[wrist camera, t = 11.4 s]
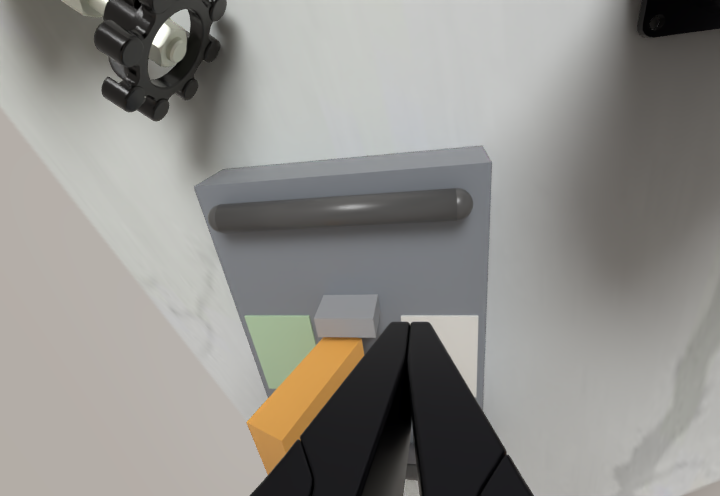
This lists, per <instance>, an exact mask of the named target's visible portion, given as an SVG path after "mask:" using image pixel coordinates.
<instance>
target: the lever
mask: <svg viewBox="0 0 720 496" xmlns="http://www.w3.org/2000/svg"><path fill="white" fill-rule="evenodd" d="M363 356H364V350H363V344H362V338H357V337H323V338H322V339H321V340H320V342H319V343H318V344H317V345H316V346H315V347H314V348H313V349H312V350H311V352H310V353H309V354H308V355H307V356H306V357H305V358H304V359H303V360H302V361H301V363H300V364H299V365H298V366H297V367H296V368H295V369H294V370H293V371H292V373H291V374H290V375H289V376H288V377H287V378H286V379H285V380H284V381H283V382H282V384H281V385H280V386H279V387H278V388H277V389H276V390H275V391H274V392H273V394H272V395H271V396H270V397H269V398H268V399H267V400H266V401H265V402H264V404H263V405H262V406H261V407H260V408H259V409H258V410H257V411H256V412H255V413H254V415H253V416H252V417H251V418H250V419H249V420H248V421H247V422H246V423H247V425H248V427H249V430H250V432H251V435H252V437H253V440H254V442H255V444H256V447H257V449H258V452H259V454H260V457H261V459H262V462H263V464H264V466H265V469H266V471H267V474H268V475H269V473H270V472H271V471H272V470H273V469H274V467H275V466H276V465H277V464H278V463H279V461H280V460H281V459H282V458H283V457H284V455H285V454H286V453H287V452H288V450H289V449H290V448H291V447H292V445H293V444H294V443H295V442H296V440H298V439H299V440H300V436H301V434H302V433H303V432H304V431H305V429H306V428H307V427H308V426H309V424H310V423H311V422H312V421H313V419H314V418H315V417H316V415H317V414H318V413H319V412H320V410H321V409H322V408H323V407H324V405H325V404H326V403H327V402H328V400H329V399H330V398H331V397H332V395H333V394H334V393H335V392H336V390H337V389H338V388H339V387H340V385H341V384H342V383H343V381H344V380H345V379H346V378H347V376H348V375H349V374H350V373H351V371H352V370H353V369H354V368H355V366H356V365H357V364H358V363H359V361H360V360H361V359H362V358H363ZM300 441H301V440H300Z"/></svg>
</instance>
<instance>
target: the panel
mask: <svg viewBox="0 0 720 496" xmlns="http://www.w3.org/2000/svg"><path fill="white" fill-rule="evenodd" d="M491 173H492V162H491V160H490V158H489V156H488V155H487V153H486V151H485V149H484V147H483V146H474V147H463V148H452V149H441V150H430V151H419V152H408V153H397V154H386V155H375V156H364V157H353V158H342V159H331V160H320V161H309V162H298V163H287V164H276V165H265V166H254V167H243V168H231V169H223V170H221V171H219V172H218V173H216V174H214V175H213V176H211V177H209V178H207V179H206V180H204V181H202V182H201V183H199V184H197V185H196V186H194V189H195V192H196V195H197V198H198V200H199V203H200V206H201V209H202V212H203V215H204V217H205V220H206V223H207V226H208V229H209V232H210V234H211V237H212V240H213V243H214V246H215V249H216V251H217V254H218V257H219V260H220V263H221V266H222V268H223V271H224V274H225V277H226V280H227V283H228V285H229V288H230V291H231V294H232V297H233V300H234V302H235V305H236V308H237V311H238V314H239V317H240V319H241V322H242V325H243V328H244V331H245V334H246V336H247V339H248V342H249V345H250V348H251V351H252V354H253V356H254V359H255V362H256V365H257V368H258V371H259V373H260V376H261V379H262V382H263V385H264V388H265V390H266V393H267V396H268V398H269V397H270V396H271V395H272V394H273V392H274V391H275V390H276V389H277V388H278V387H279V386H280V385H281V384H282V382H283V381H284V380H285V379H286V378H287V377H288V376H289V375H290V374H291V373H292V371H293V370H294V369H295V368H296V367H297V366H298V365H299V364H300V363H301V361H302V360H303V359H304V358H305V357H306V356H307V355H308V354H309V353H310V352H311V350H312V349H313V348H314V347H315V346H316V345H317V344H318V343H319V342H320V340H321V339H322V338H323V337H357V338H362V344H363V350H364V355H365V354H366V353H367V351H368V350H369V349H370V347H371V346H372V345H373V344H374V342H375V341H376V340H377V339H378V337H379V336H380V335H381V334H382V332H383V331H384V330H385V329H386V327H387V326H388V325H389V324H390V323H391V322H409V323H410V324H411V323H412V322H429V323H430V324H431V325H432V327H433V328H434V330H435V332H436V333H437V335H438V337H439V338H440V340H441V342H442V343H443V345H444V347H445V348H446V350H447V352H448V354H449V355H450V357H451V359H452V360H453V362H454V364H455V365H456V367H457V369H458V370H459V372H460V374H461V375H462V377H463V379H464V380H465V382H466V384H467V385H468V387H469V389H470V391H471V392H472V394H473V396H474V397H475V399H476V401H477V402H478V404H479V406H480V407H481V409H482V411H483V388H484V361H485V334H486V308H487V281H488V254H489V227H490V200H491ZM405 479H408V480H418V476H417V466H416V457H415V448H414V439H413V428H412V429H411V439H410V446H409V454H408V461H407V469H406V476H405Z"/></svg>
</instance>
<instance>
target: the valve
mask: <svg viewBox="0 0 720 496" xmlns="http://www.w3.org/2000/svg"><path fill="white" fill-rule="evenodd" d="M61 1H62V2H64V3H65V4H67V5H68V6H70V7H71V8H73V9H74V10H76V11H77V12H79V13H80V14H82V15H84V16H89V17H102V16H103V20H104V22H103V23H101V24H100V25H99V26H98V28H97V30H96V32H95V35H94V42H95V46H96V47H97V49H98V50H99V51H101V52H102V53H104V54H105V55H107V56H108V57H109V62H110V65H111V67H112V69H113V71H114V72H115V73H116V74H117V75H118V76H119V77H120V78H121V79H123V81H122V82H120V83H118V82H116V81H114V80H113V79H111V78H110V77H107V78H106V79H105V80H104V82H103V85H102V95H103V96H104V97H105V98H106V99H108V100H109V101H111V102H112V103H114V104H115V105H117V106H118V107H120V108H122V109H123V110H125V111H126V112H134V111H136V110H137V111H139V112H141V113H142V114H144V115H145V116H147V117H148V118H150V119H151V120H153V121H160V120H161V119H162V118H164V116H165V115H166V114H167V112H168V109H169V102H168V100H169V98H170V97H171V96H172V95H173V94H174V93H175V94H176V95H178V96H179V97H181V98H182V99H184V100H189V99H191V98H192V97H193V96H194V95H195V93H196V91H197V88H198V82H197V80H196V79H194V74H195V71H196V70H197V68H198V66H199V65H200V63H201V62H202V61H203V60H205V61H206V62H212V61H213V60H214V59H215V58H216V57H217V55H218V52H219V50H220V43H219V41H218V40H217V39H215V38H214V37H212V36H211V35H210V34H209V33H210V27H211V25H212V23H213V21H218V20H220V19H221V17H222V16H223V14H224V12H225V10H226V5H227V1H226V0H61ZM183 9H188V12H189V15H190V21H191V27H190V33H189V32H187V31H186V30H185V29H184V28H182V27H181V26H179V25H178V24H176V23H175V22H173V21H172V20H171V19H170V17H171V16H172V15H173V14H174V13H176V12H178V11H180V10H183ZM148 59H151V60H152V61H153V62H155V63H156V64H158V65H159V66H162V67H172V66H174V65H175V64H176V63H177V64H176V65H175V66H174V67H173V69H171V70H170V71H169V72H168V73H167V74H166V75H164V76H162V77H161V78H158V79H155V80H150V78H149V75H148ZM145 96H146V97H145Z"/></svg>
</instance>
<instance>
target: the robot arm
mask: <svg viewBox="0 0 720 496" xmlns="http://www.w3.org/2000/svg"><path fill="white" fill-rule="evenodd" d="M655 16H658V18H659V24H658V26H657V27H656V28H655V29H653V30H652V29H651V28H650V22H651V19H652V18H653V17H655ZM719 28H720V0H642V4H641V9H640V14H639V19H638V25H637V31H638V33H639V35H641V36H642V37H647V38H651V37H660V36H668V35H675V34H682V33H690V32H697V31H704V30H712V29H719ZM412 428H413V439H414V448H415V457H416V466H417V476H418V485H419V494H420V496H534V495H533V493H532V492H531V490H530V489H529V487H528V485H527V484H526V482H525V481H524V479H523V477H522V476H521V474H520V472H519V471H518V469H517V467H516V466H515V464H514V462H513V461H512V459H511V457H510V456H509V455H506V454H507V452H506V449H505V448H504V446H503V444H502V443H501V441H500V439H499V438H498V436H497V434H496V433H495V431H494V429H493V428H492V426H491V424H490V422H489V421H488V419H487V417H486V416H485V414H484V412H483V411H482V409H481V407H480V406H479V404H478V402H477V401H476V399H475V397H474V396H473V394H472V392H471V391H470V389H469V387H468V385H467V384H466V382H465V380H464V379H463V377H462V375H461V374H460V372H459V370H458V369H457V367H456V365H455V364H454V362H453V360H452V359H451V357H450V355H449V354H448V352H447V350H446V348H445V347H444V345H443V343H442V342H441V340H440V338H439V337H438V335H437V333H436V332H435V330H434V328H433V327H432V325H431V324H430V323H429V322H412V323H411V324H410V323H409V322H391V323H390V324H389V325H388V326H387V327H386V329H385V330H384V331H383V332H382V334H381V335H380V336H379V337H378V339H377V340H376V341H375V342H374V344H373V345H372V346H371V347H370V349H369V350H368V351H367V353H366V354H365V355H364V356H363V358H362V359H361V360H360V361H359V363H358V364H357V365H356V366H355V368H354V369H353V370H352V371H351V373H350V374H349V375H348V376H347V378H346V379H345V380H344V381H343V383H342V384H341V385H340V387H339V388H338V389H337V390H336V392H335V393H334V394H333V395H332V397H331V398H330V399H329V400H328V402H327V403H326V404H325V405H324V407H323V408H322V409H321V410H320V412H319V413H318V414H317V415H316V417H315V418H314V419H313V421H312V422H311V423H310V424H309V426H308V427H307V428H306V429H305V431H304V432H303V433H302V434H301V436H300V440H301V441H300V440H299V439H298V440H296V442H295V443H294V444H293V445H292V447H291V448H290V449H289V450H288V452H287V453H286V454H285V455H284V457H283V458H282V459H281V460H280V461H279V463H278V464H277V465H276V466H275V467H274V469H273V470H272V471H271V472H270V473H269V475H268V476H267V477H266V478H265V480H264V481H263V482H262V483H261V484H260V485H259V486H258V487H257V488H256V490H255V491H254V492H253V493H252V494H251V495H250V496H403V491H404V484H405V476H406V469H407V461H408V454H409V446H410V439H411V429H412Z"/></svg>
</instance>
